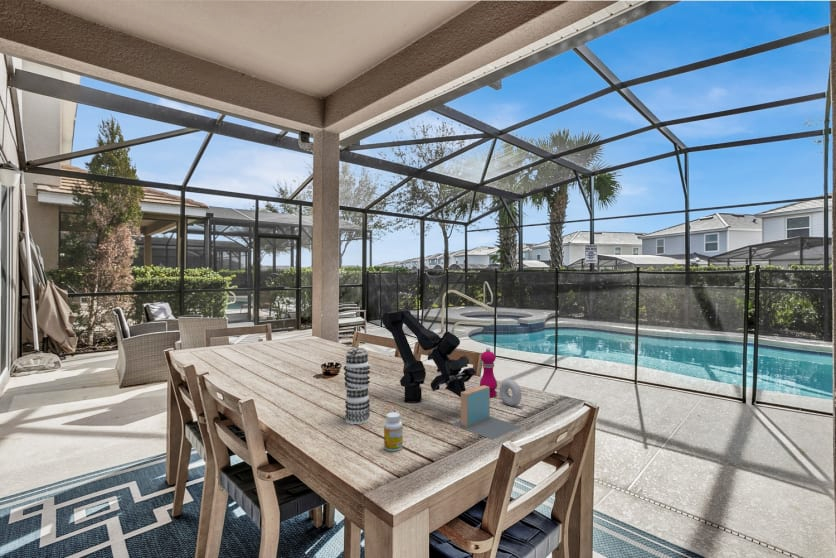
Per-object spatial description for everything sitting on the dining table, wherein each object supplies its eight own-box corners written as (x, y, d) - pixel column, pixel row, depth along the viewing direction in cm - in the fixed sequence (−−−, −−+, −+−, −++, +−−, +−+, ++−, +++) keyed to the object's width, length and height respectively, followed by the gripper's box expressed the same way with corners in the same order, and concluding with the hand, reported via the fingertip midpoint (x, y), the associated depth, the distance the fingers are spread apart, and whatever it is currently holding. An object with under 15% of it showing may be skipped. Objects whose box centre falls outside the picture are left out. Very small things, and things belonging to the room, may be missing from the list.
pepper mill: (497, 398, 155) (496, 349, 155) (479, 397, 157) (478, 349, 157) (497, 393, 162) (496, 346, 162) (480, 392, 164) (479, 345, 164)
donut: (523, 408, 143) (523, 381, 143) (517, 410, 141) (517, 383, 141) (503, 401, 152) (503, 376, 152) (497, 402, 150) (497, 377, 150)
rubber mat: (451, 425, 128) (451, 423, 128) (480, 414, 138) (480, 413, 138) (492, 441, 115) (492, 439, 115) (520, 427, 125) (520, 426, 125)
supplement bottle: (384, 444, 114) (383, 411, 114) (402, 443, 114) (401, 411, 114) (384, 452, 109) (383, 418, 109) (403, 451, 109) (402, 417, 109)
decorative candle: (349, 427, 127) (348, 352, 127) (341, 418, 135) (340, 348, 135) (374, 421, 131) (373, 349, 131) (365, 413, 140) (364, 345, 140)
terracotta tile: (461, 425, 126) (460, 392, 126) (484, 416, 134) (483, 385, 134) (467, 427, 125) (466, 394, 124) (490, 418, 132) (489, 386, 132)
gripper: (435, 352, 130) (459, 391, 122) (471, 345, 143) (495, 381, 134) (420, 371, 136) (442, 410, 128) (456, 363, 149) (478, 398, 140)
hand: (466, 399), depth 133 cm, fingers closed
